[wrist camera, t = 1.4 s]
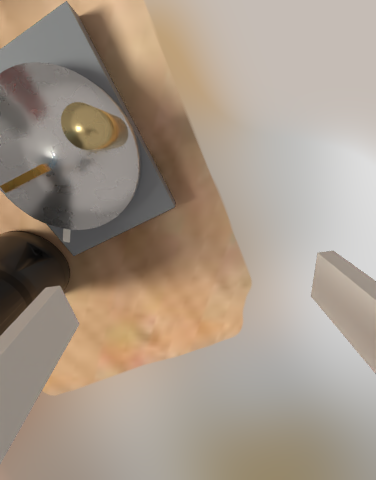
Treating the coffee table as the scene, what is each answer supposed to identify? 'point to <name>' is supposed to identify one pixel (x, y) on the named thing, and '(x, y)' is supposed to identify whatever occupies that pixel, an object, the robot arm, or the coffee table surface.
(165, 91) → the coffee table surface
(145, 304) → the coffee table surface
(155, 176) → the stand
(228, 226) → the coffee table surface
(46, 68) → the silver disc with stripe
